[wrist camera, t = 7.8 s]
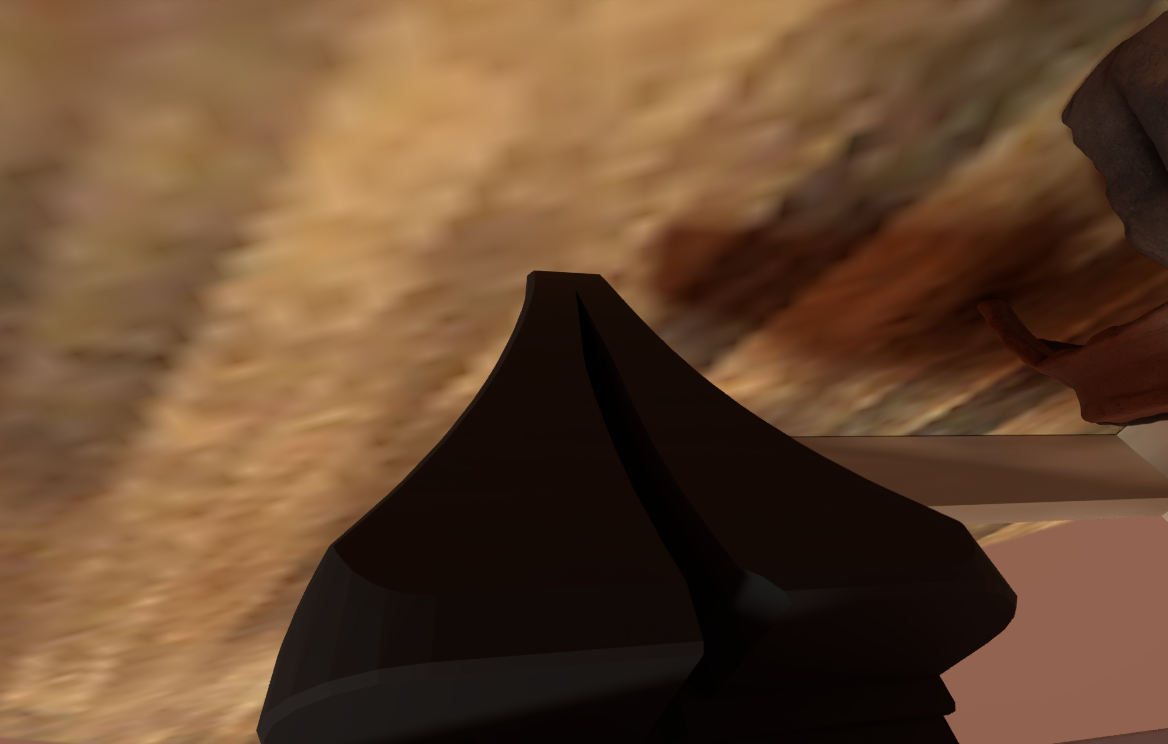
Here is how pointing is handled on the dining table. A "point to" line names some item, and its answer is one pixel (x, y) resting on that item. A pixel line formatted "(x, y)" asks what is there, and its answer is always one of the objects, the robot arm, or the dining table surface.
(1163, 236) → the pottery mug
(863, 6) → the dining table surface
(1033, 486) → the maple cradle
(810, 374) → the dining table surface
